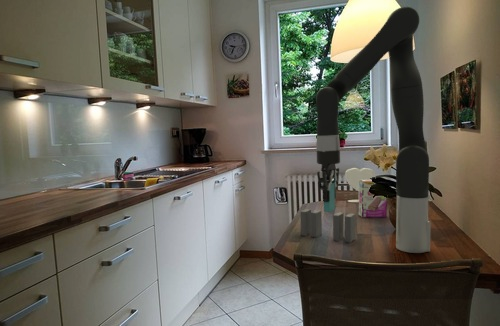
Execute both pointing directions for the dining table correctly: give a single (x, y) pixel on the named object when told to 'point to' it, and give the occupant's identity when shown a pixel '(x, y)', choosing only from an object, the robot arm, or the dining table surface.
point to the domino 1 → (306, 222)
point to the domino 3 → (331, 204)
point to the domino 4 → (338, 226)
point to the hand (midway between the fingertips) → (329, 200)
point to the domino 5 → (349, 228)
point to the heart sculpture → (358, 178)
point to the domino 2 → (316, 223)
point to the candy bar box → (370, 202)
